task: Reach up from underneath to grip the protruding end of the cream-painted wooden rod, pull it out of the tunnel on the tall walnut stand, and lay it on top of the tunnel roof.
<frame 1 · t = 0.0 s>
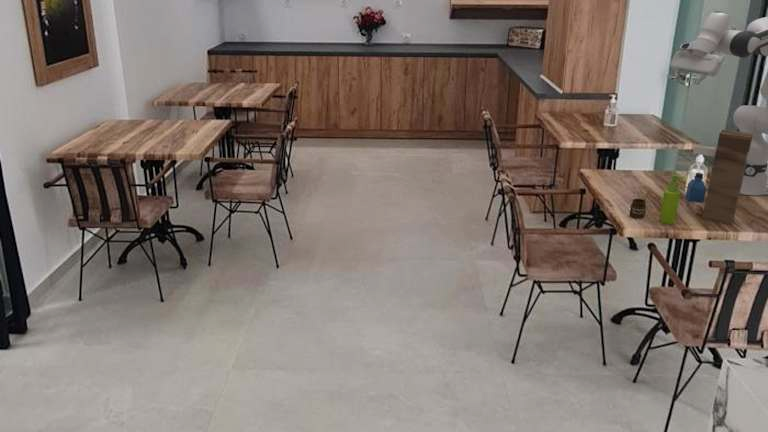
hand: (685, 82, 261), 54 cm above the table, tool tilted 30°, fingers open, 8 cm apart
rod: (719, 156, 264), point 26 cm above the table, touching stand
perfume bottle: (694, 199, 293), on the table
stand: (718, 218, 271), on the table
soap dispenser: (667, 222, 267), on the table
utensil holder: (637, 216, 273), on the table
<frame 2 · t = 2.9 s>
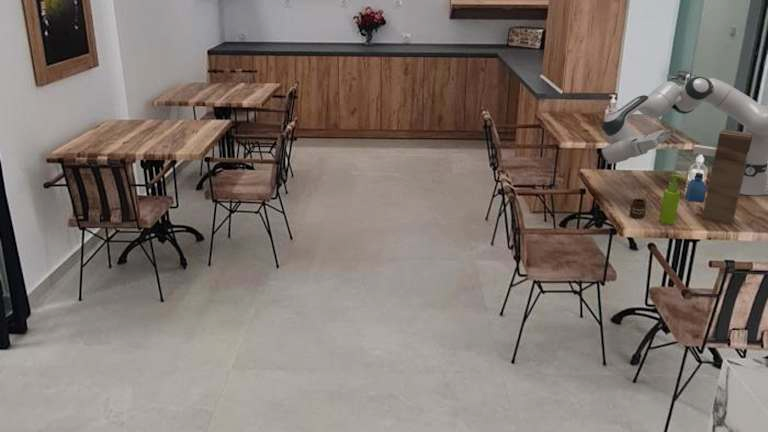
hand: (672, 133, 271), 33 cm above the table, tool pointing upward, fingers open, 8 cm apart
nothing on the table moved.
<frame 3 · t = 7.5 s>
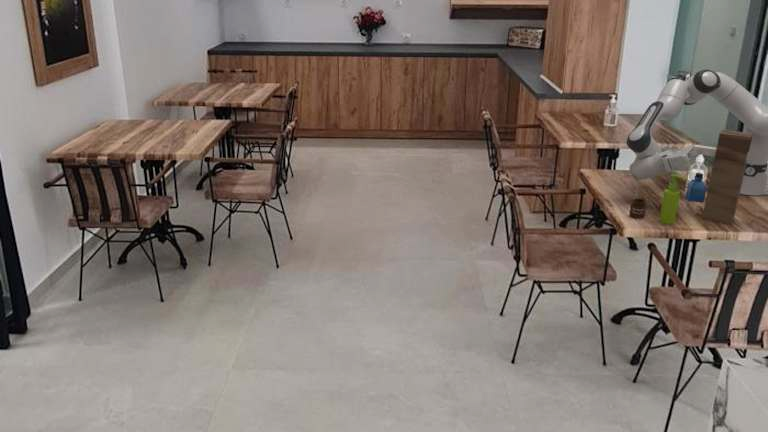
hand: (703, 149, 267), 28 cm above the table, tool pointing upward, fingers closed on rod, 3 cm apart
rod: (719, 156, 264), point 26 cm above the table, touching gripper, stand
everything else where it was.
when the fingers open (40 cm above the table, at t = 15.1 s): rod drops 2 cm, resting on stand.
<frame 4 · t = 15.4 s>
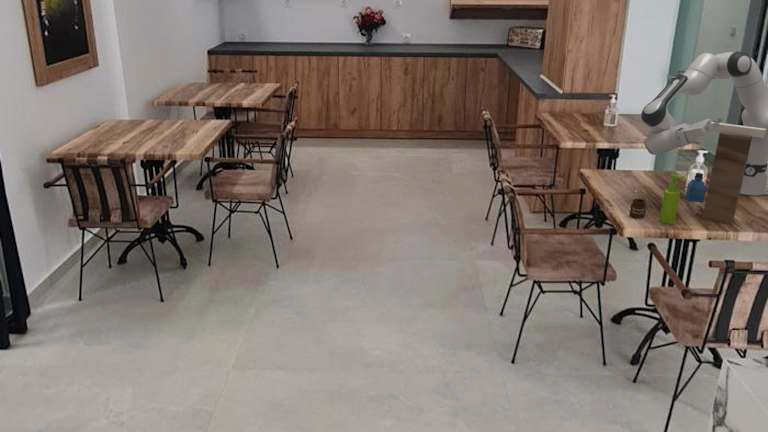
hand: (720, 121, 260), 40 cm above the table, tool pointing upward, fingers open, 6 cm apart
rod: (736, 133, 258), point 36 cm above the table, touching stand
everything else where it was.
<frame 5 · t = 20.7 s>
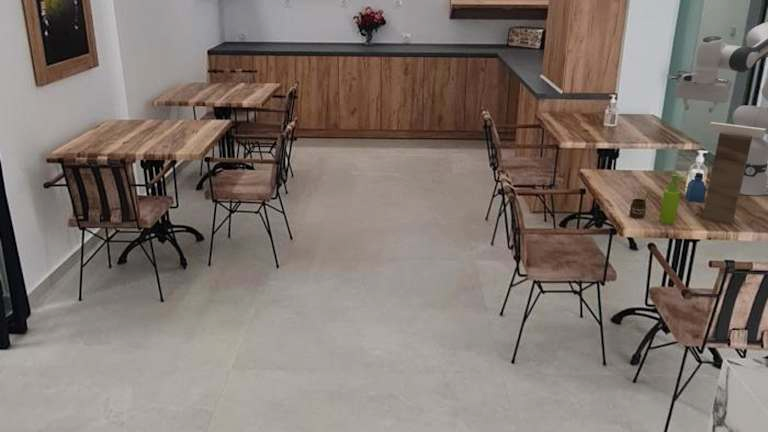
hand: (698, 111, 273), 41 cm above the table, tool pointing down, fingers open, 8 cm apart
nothing on the table moved.
at the end: rod inside the target area on the stand (0.1 cm from its centre), point 36.2 cm above the stand's base; the gripper is holding nothing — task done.
